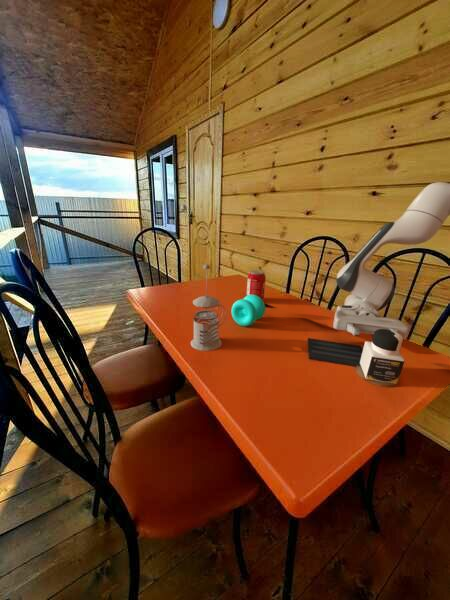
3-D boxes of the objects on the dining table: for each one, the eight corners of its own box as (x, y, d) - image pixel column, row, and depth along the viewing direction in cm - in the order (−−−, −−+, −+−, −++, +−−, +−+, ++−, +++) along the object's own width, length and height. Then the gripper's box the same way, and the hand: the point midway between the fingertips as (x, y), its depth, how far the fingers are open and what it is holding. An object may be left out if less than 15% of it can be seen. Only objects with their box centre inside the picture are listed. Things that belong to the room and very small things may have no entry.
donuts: (265, 321, 97) (267, 296, 94) (253, 330, 89) (255, 304, 86) (242, 315, 102) (244, 291, 99) (229, 323, 94) (230, 298, 91)
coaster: (404, 376, 66) (404, 374, 66) (391, 392, 60) (391, 391, 60) (364, 359, 73) (364, 358, 73) (348, 372, 67) (349, 371, 67)
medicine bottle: (365, 379, 64) (377, 337, 59) (359, 362, 70) (369, 324, 66) (397, 384, 62) (411, 342, 58) (387, 367, 69) (400, 328, 64)
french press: (184, 340, 81) (183, 262, 73) (215, 331, 87) (216, 259, 79) (200, 354, 73) (200, 269, 65) (232, 343, 80) (236, 265, 72)
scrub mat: (360, 348, 80) (361, 344, 80) (370, 369, 69) (370, 365, 69) (307, 340, 84) (308, 337, 84) (308, 359, 73) (309, 355, 73)
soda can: (242, 304, 115) (244, 271, 110) (252, 300, 120) (255, 268, 115) (256, 308, 110) (259, 274, 105) (266, 304, 115) (269, 272, 110)
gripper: (396, 331, 82) (414, 352, 70) (329, 322, 87) (334, 340, 75) (401, 313, 80) (420, 331, 68) (332, 305, 85) (338, 320, 72)
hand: (375, 336), depth 71 cm, fingers open, 8 cm apart
